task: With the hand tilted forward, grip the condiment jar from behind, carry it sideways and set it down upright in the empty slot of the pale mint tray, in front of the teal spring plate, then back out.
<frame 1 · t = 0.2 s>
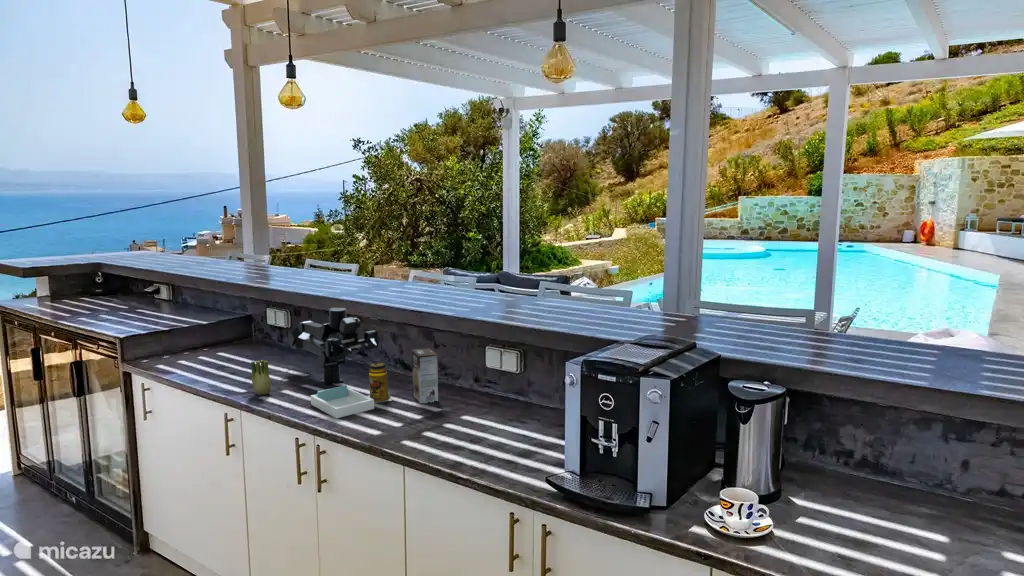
hand: (364, 349, 215), 17 cm above the worktop, tool horizontal, fingers open, 9 cm apart
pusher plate: (332, 394, 213), point 3 cm above the worktop, slide at 0.0 cm, touching pale mint tray
pale mint tray: (342, 406, 208), on the worktop
fennel bulb: (262, 394, 222), on the worktop
condiment: (379, 399, 216), on the worktop
coffee box: (425, 399, 215), on the worktop
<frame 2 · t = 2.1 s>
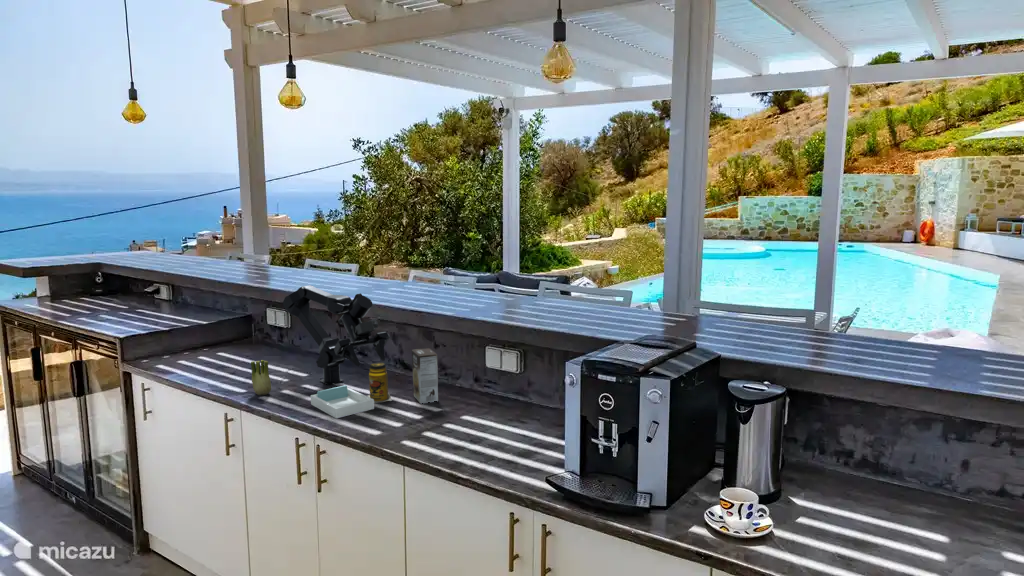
hand: (371, 363, 218), 11 cm above the worktop, tool tilted 45°, fingers open, 9 cm apart
nothing on the worktop moved.
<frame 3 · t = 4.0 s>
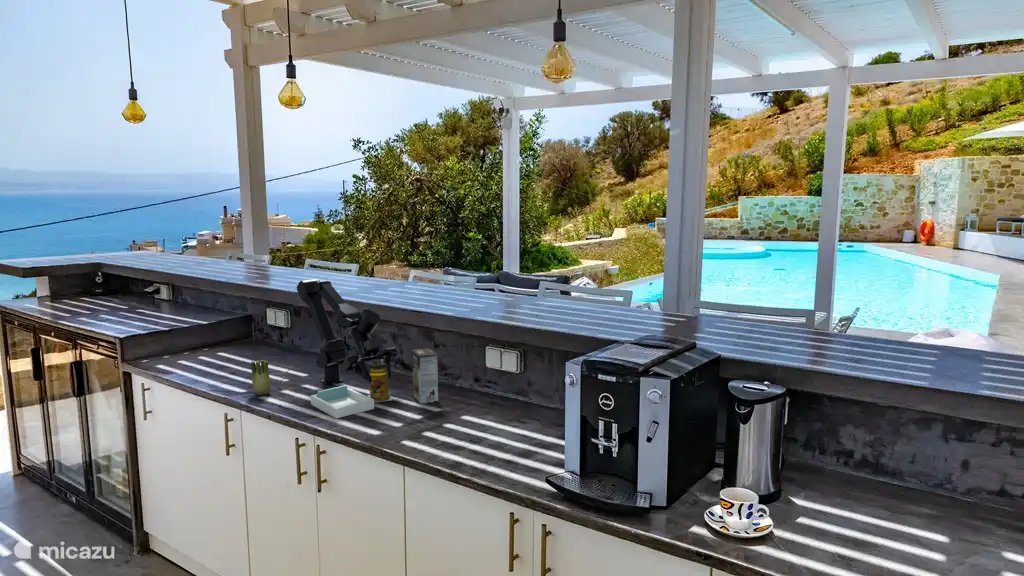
hand: (380, 380, 214), 7 cm above the worktop, tool tilted 45°, fingers open, 7 cm apart
condiment: (379, 398, 216), on the worktop, touching gripper
everything else where it was.
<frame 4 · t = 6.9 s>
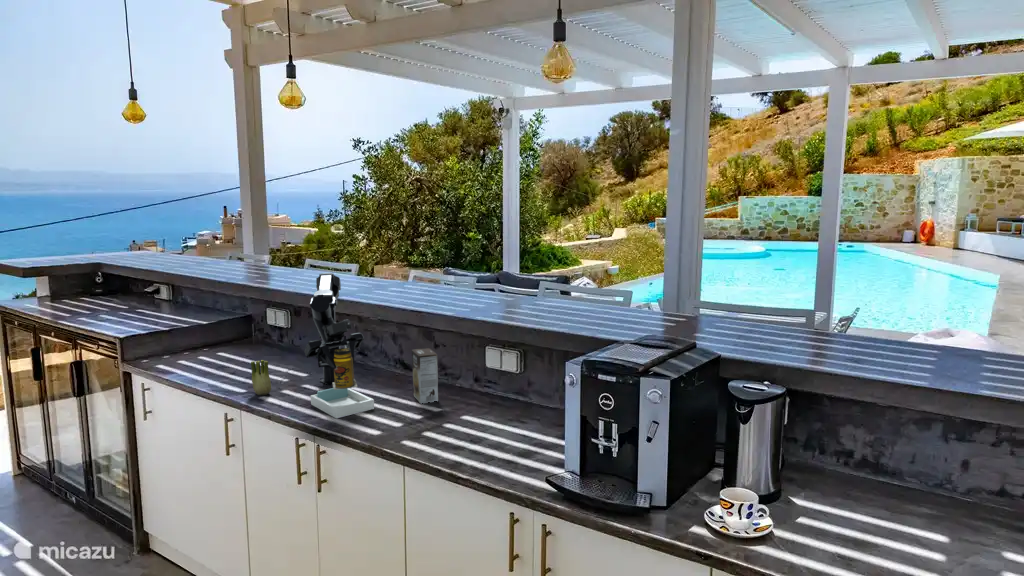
hand: (344, 366, 206), 13 cm above the worktop, tool tilted 45°, fingers closed on condiment, 6 cm apart
condiment: (345, 385, 208), point 7 cm above the worktop, touching gripper
everything else where it was.
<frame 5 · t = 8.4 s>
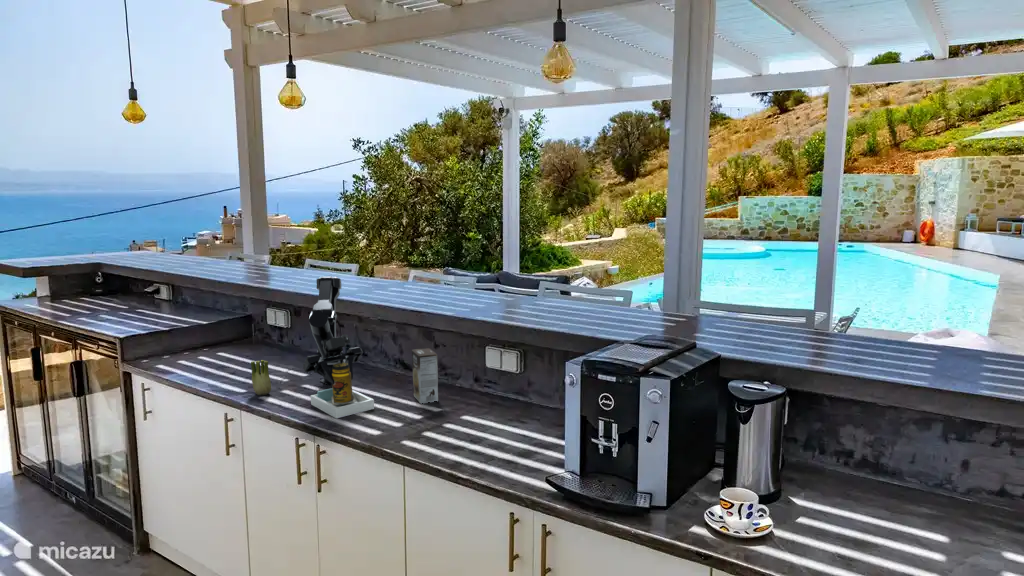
hand: (342, 381, 206), 9 cm above the worktop, tool tilted 45°, fingers closed on condiment, 6 cm apart
condiment: (343, 400, 209), point 2 cm above the worktop, touching gripper
everything else where it was.
when the fingers open (8 cm above the worktop, at t = 9.6 s): condiment stays where it is, resting on pale mint tray.
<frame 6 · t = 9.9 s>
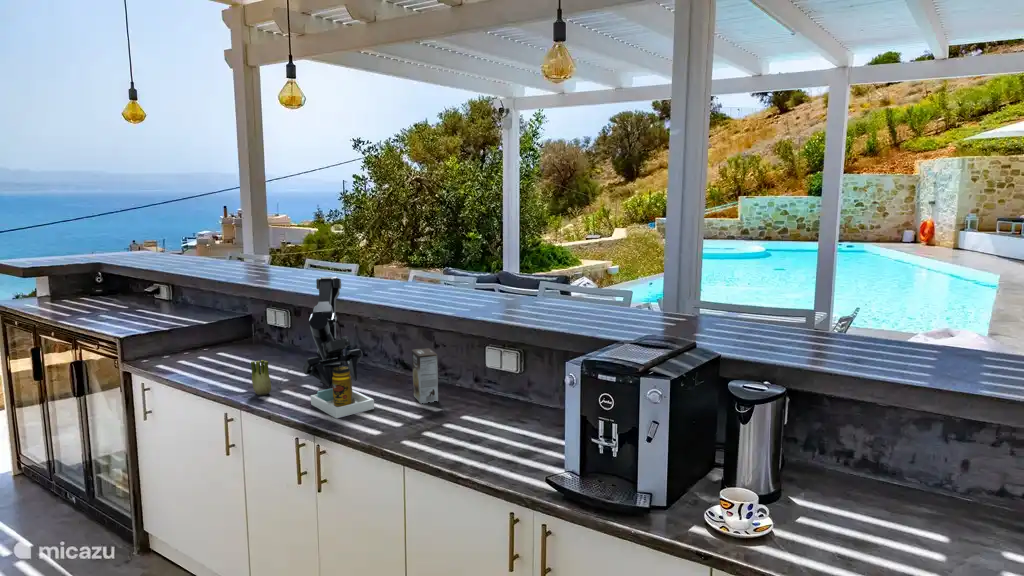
hand: (343, 383, 206), 8 cm above the worktop, tool tilted 45°, fingers open, 9 cm apart
condiment: (343, 404, 209), point 1 cm above the worktop, touching pale mint tray
everything else where it was.
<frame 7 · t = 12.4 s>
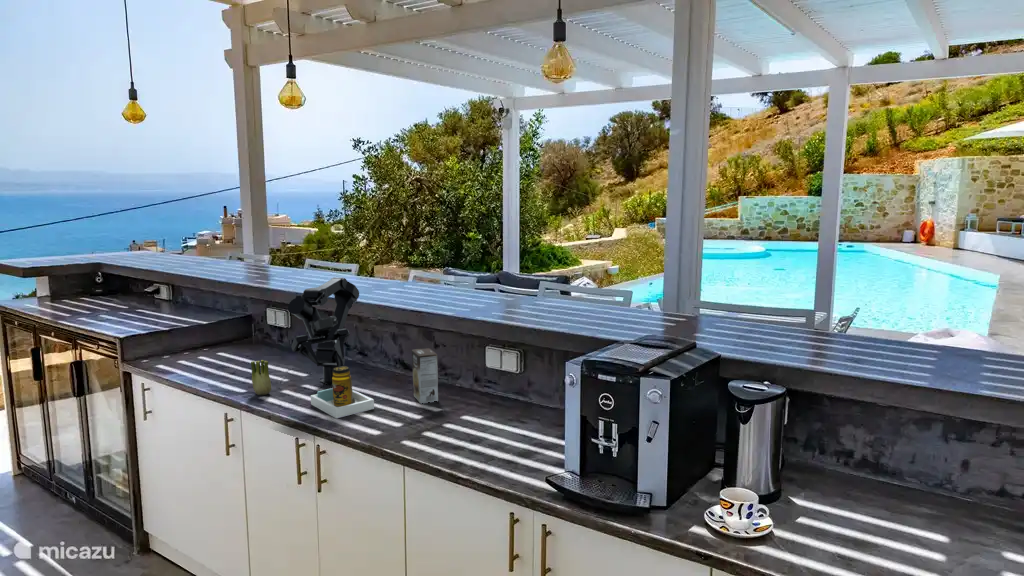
hand: (330, 361, 212), 14 cm above the worktop, tool tilted 45°, fingers open, 9 cm apart
nothing on the worktop moved.
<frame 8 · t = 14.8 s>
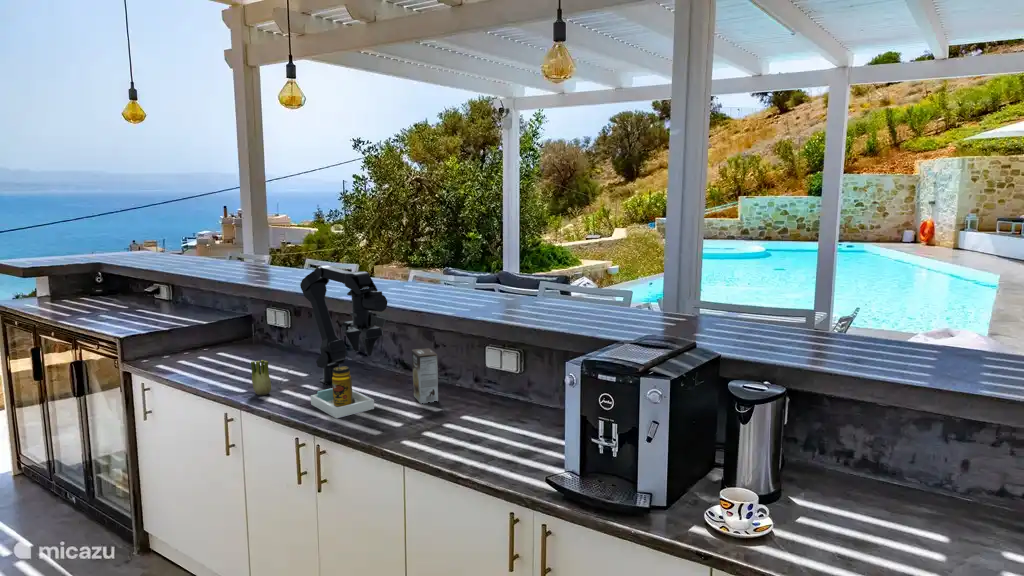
hand: (363, 353, 224), 13 cm above the worktop, tool pointing down, fingers open, 9 cm apart
nothing on the worktop moved.
at the end: condiment inside the target area (1.0 cm from its centre), point 0.6 cm above the worktop; condiment tilted 0°; the gripper is holding nothing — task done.
